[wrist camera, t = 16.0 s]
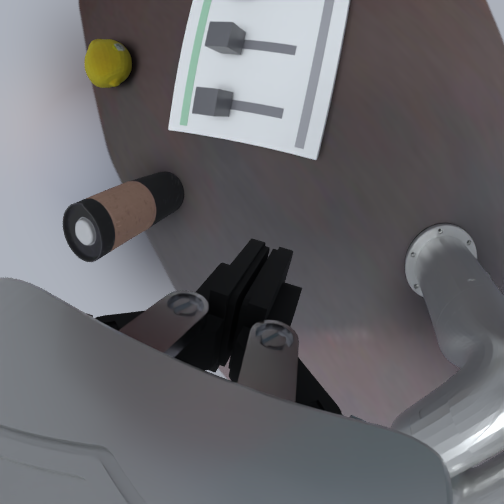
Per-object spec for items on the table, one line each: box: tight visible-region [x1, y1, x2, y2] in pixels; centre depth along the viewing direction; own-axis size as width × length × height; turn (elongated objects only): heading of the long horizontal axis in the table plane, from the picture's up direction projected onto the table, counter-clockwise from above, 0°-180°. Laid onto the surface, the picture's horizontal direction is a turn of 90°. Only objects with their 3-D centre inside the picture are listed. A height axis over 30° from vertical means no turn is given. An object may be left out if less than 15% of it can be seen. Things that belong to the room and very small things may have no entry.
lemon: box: [85, 39, 132, 88], centre depth 37 cm, size 11×8×8 cm
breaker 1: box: [205, 21, 246, 55], centre depth 30 cm, size 3×4×5 cm
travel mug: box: [63, 172, 184, 262], centre depth 40 cm, size 8×8×20 cm
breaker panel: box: [168, 0, 350, 160], centre depth 34 cm, size 22×28×3 cm
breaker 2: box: [192, 87, 233, 117], centre depth 34 cm, size 3×4×5 cm
